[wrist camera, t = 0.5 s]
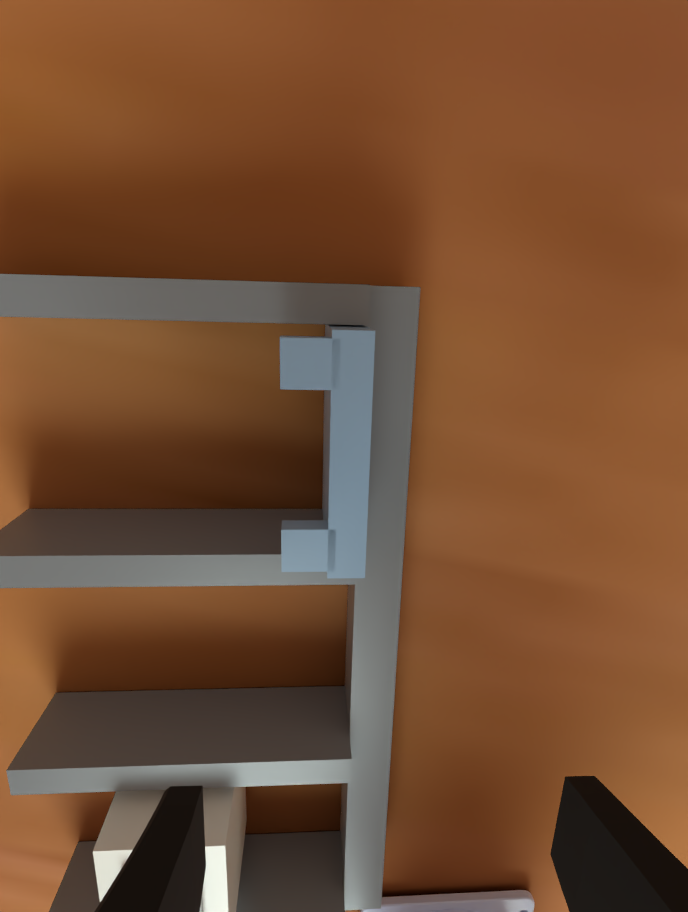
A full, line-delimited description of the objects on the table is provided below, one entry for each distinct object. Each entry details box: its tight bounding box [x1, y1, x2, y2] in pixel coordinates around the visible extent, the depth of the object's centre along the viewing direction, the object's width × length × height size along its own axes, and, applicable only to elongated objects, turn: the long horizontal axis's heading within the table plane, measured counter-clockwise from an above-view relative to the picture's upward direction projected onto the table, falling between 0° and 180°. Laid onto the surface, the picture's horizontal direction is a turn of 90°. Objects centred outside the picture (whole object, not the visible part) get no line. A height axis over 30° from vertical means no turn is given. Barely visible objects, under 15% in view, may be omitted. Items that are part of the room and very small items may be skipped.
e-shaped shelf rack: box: [0, 274, 420, 912], centre depth 17 cm, size 24×12×5 cm, turn 178°
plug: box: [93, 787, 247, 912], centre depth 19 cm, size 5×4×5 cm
